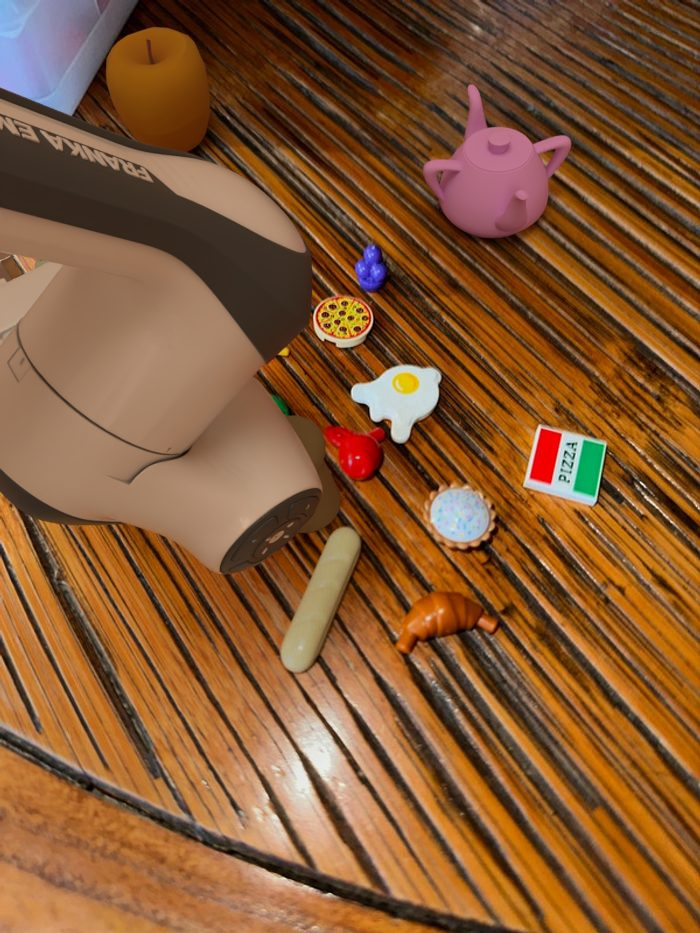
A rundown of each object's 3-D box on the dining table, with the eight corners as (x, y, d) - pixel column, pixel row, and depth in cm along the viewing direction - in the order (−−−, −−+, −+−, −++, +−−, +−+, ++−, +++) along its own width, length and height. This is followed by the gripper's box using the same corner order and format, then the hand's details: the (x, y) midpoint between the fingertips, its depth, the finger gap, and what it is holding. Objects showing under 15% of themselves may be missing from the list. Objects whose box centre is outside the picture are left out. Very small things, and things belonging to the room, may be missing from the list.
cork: (307, 546, 64) (289, 487, 55) (257, 504, 67) (232, 440, 57) (355, 498, 66) (345, 432, 57) (305, 458, 69) (288, 389, 59)
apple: (187, 188, 87) (154, 85, 76) (114, 161, 90) (71, 57, 79) (240, 130, 91) (216, 24, 80) (168, 106, 94) (136, 0, 83)
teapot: (515, 266, 78) (526, 198, 70) (404, 213, 83) (403, 144, 75) (574, 197, 82) (591, 126, 74) (465, 150, 87) (470, 78, 79)
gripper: (279, 237, 47) (177, 123, 53) (-29, 401, 43) (-102, 256, 49) (292, 304, 53) (199, 194, 59) (21, 456, 48) (-50, 320, 54)
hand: (60, 223), depth 54 cm, fingers open, 8 cm apart
